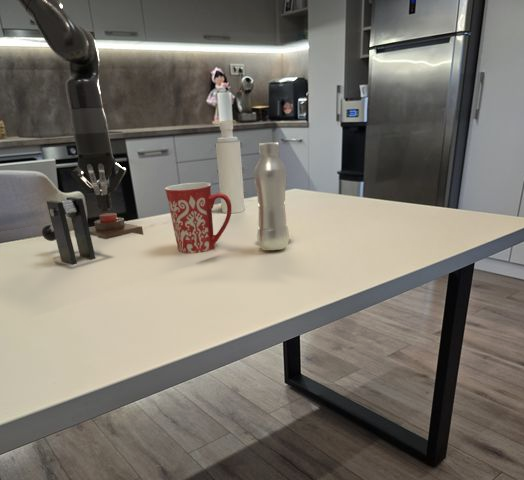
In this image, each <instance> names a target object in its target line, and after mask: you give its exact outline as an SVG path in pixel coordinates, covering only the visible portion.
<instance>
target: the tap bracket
mask: <svg viewBox="0 0 524 480" xmlns="http://www.w3.org/2000/svg"><path fill="white" fill-rule="evenodd" d="M67 200H72V202H73V204H74V206H75V208H76V210H77V212H76V213H75V215H74V216H73V217H72V218H70V219H71V224H72V229H73V233H74V236H75V240H76V245H77V249H78V253H79V257H80V258H83V259H87V260H91V261H92V260H95V259H96V255H95V249H94V245H93V241H92V235H90V231H89V227H90V226H89V222H88V218H87V214H86V208H85V204H84V199H83V198H82V197H74V196H68V197H66V201H67ZM46 206H47V210H48V215H49V217H50V222H51V225H52V226H53V230H54V234H55V238H56V240H55V241H56V246H57V249H58V252H59V258H60V261H61V262H62V263H65V264H68V265H71V266H74V265H77V264H78V261H77V257H76V253H75V249H74V245H73V244H74V243H73V240H72V237H71V233H70V227H69V224H68V220H67V219H68V218H67V219H66V215H65V211H64V207H63V203H62V202H61V201H58V200H46Z"/></svg>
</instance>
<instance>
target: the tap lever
mask: <svg viewBox="0 0 524 480" xmlns="http://www.w3.org/2000/svg"><path fill="white" fill-rule="evenodd" d="M60 202H62V203H63V207H64V211H65V215H66V219H71V218H72V217H73V216H74V215H75V213H76V212H77V210H76V208H75V206H74V204H73V202H72V200H67V199H66V200H62V201H60ZM41 235H42V237H43V238H44V239H45V240H46V241H48V242H54V241H56V238H55V234H54V230H53V226H52V224H48V225H45V226H44V227H43V228H42V231H41Z"/></svg>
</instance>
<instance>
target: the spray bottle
mask: <svg viewBox="0 0 524 480" xmlns="http://www.w3.org/2000/svg"><path fill="white" fill-rule="evenodd" d="M218 123H219V130H220V135H221V137H217V139H216V140H215V153H216V163H217V175H218V185H219V193H223V194H225V195H227V196H228V198H229V199H230V202H231V214H240V213H244V212H245V211H246V208H245V207H246V206H245V205H246V204H245V192H244V191H245V190H244V179H243V165H242V153H241V151H242V150H241V139H238V136H234V134H233V130H234V122H233V120H229V121H227V120H226V121H218ZM220 208H221V213H223V214H227V204H226V202H225V200H224V199H222V198H220Z"/></svg>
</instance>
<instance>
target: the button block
mask: <svg viewBox="0 0 524 480" xmlns="http://www.w3.org/2000/svg"><path fill="white" fill-rule="evenodd" d="M117 219H118V220H117V221H113V222H100V218H99V219H96V220H94V222H93V223H94V225H92V226H89V231H90V235H91V236H95V237H98V238H100V239H104V240H108V239H113V238H118V237H121V236H125V235H129V234H136V235H142V236H144V230H143V226H142V225H136V224H133V223H132V224H131V223H127V222H126V223H125V219H124V217H120V216H119V217H118V216H117Z"/></svg>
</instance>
